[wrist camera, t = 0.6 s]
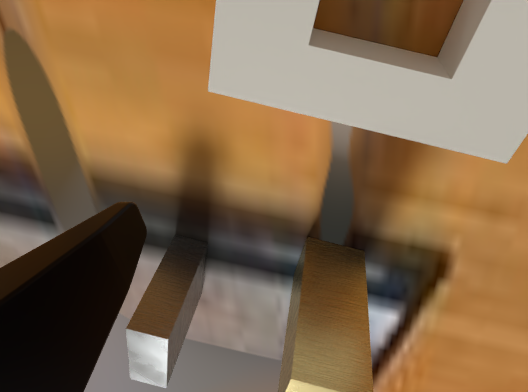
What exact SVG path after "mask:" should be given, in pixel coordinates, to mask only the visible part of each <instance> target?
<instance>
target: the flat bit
mask: <svg viewBox="0 0 528 392" xmlns="http://www.w3.org/2000/svg"><path fill="white" fill-rule="evenodd" d="M207 247H208V243H206V242H202V241H198V240H194V239H190V238H186V237H182V236H178V235H175V236H174V238H173V240H172V242H171V244H170V246H169V248H168V249H167V251H166V253H165V255H164V257H163V259H162V261H161V263H160V265H159V267H158V269H157V270H156V272H155V274H154V276H153V278H152V280H151V282H150V284H149V286H148V288H147V289H146V291H145V293H144V295H143V297H142V299H141V301H140V303H139V305H138V307H137V309H136V310H135V312H134V314H133V316H132V318H131V320H130V322H129V324H128V326H127V328H126V335H127V346H128V358H129V370H130V379H133V380H137V381H141V382H145V383H149V384H152V385H156V386H160V387H164V388H167V385H168V382H169V380H170V377H171V374H172V372H173V369H174V366H175V364H176V361H177V358H178V356H179V353H180V350H181V348H182V345H183V342H184V339H185V337H186V334H187V331H188V329H189V326H190V323H191V321H192V318H193V315H194V313H195V310H196V307H197V305H198V302H199V299H200V297H201V294H202V288H203V279H204V271H205V263H206V255H207Z"/></svg>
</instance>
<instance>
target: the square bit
mask: <svg viewBox="0 0 528 392" xmlns="http://www.w3.org/2000/svg"><path fill="white" fill-rule="evenodd" d="M278 392H373V381H372V365H371V349H370V333H369V317H368V302H367V286H366V270H365V254H364V251H362V250H358V249H354V248H350V247H346V246H342V245H338V244H334V243H330V242H326V241H322V240H318V239H314V238H310V237H307V238H306V241H305V244H304V247H303V250H302V253H301V256H300V259H299V261H298V264H297V267H296V270H295V273H294V278H293V285H292V292H291V300H290V307H289V314H288V322H287V329H286V336H285V343H284V351H283V358H282V365H281V373H280V380H279V388H278Z"/></svg>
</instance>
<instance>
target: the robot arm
mask: <svg viewBox="0 0 528 392" xmlns="http://www.w3.org/2000/svg"><path fill="white" fill-rule="evenodd" d="M146 234H147V230H146V226H145V223H144V221H143V219H142V216H141V214H140V211H139V209H138V207H137V205H136V204H135V203H133V202H118V203H116V204H114V205H112V206H110V207H109V208H107V209H105V210H103V211H101V212H100V213H98V214H96V215H94V216H92V217H91V218H89V219H87V220H85V221H84V222H82V223H80V224H78V225H77V226H75V227H73V228H71V229H69V230H67V231H66V232H64V233H62V234H60V235H58V236H57V237H55V238H53V239H51V240H50V241H48V242H46V243H44V244H42V245H41V246H39V247H37V248H35V249H33V250H32V251H30V252H28V253H26V254H25V255H23V256H21V257H19V258H17V259H16V260H14V261H12V262H10V263H8V264H7V265H5V266H3V267H1V268H0V392H84V390H85V388H86V385H87V383H88V381H89V378H90V376H91V374H92V372H93V370H94V367H95V365H96V363H97V360H98V358H99V356H100V354H101V351H102V349H103V347H104V345H105V343H106V340H107V338H108V336H109V333H110V331H111V329H112V327H113V324H114V322H115V320H116V318H117V316H118V313H119V311H120V309H121V307H122V304H123V302H124V300H125V298H126V295H127V293H128V290H129V288H130V285H131V282H132V279H133V276H134V273H135V270H136V267H137V264H138V261H139V258H140V254H141V251H142V248H143V245H144V242H145V239H146Z"/></svg>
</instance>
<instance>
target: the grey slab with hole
mask: <svg viewBox="0 0 528 392" xmlns="http://www.w3.org/2000/svg"><path fill="white" fill-rule="evenodd" d="M319 1H320V0H216V8H215V19H214V30H213V42H212V53H211V64H210V75H209V86H208V91H209V92H213V93H217V94H222V95H226V96H230V97H234V98H238V99H242V100H246V101H250V102H255V103H259V104H263V105H267V106H271V107H275V108H279V109H283V110H288V111H292V112H296V113H300V114H304V115H308V116H312V117H316V118H321V119H325V120H329V121H333V122H338V123H341V124H346V125H350V126H354V127H358V128H362V129H366V130H370V131H374V132H378V133H383V134H387V135H391V136H395V137H399V138H403V139H407V140H411V141H416V142H420V143H424V144H428V145H432V146H436V147H440V148H444V149H449V150H453V151H457V152H461V153H465V154H469V155H473V156H477V157H482V158H486V159H490V160H494V161H498V162H502V163H506V164H507V163H508V161H509V160H510V158H511V157H512V155H513V154H514V153H515V151H516V150H517V148H518V147H519V145H520V144H521V142H522V141H523V140H524V138H525V137H526V135H527V134H528V0H463V3H462V5H461V7H460V9H459V11H458V13H457V16H456V18H455V20H454V22H453V24H452V27H451V29H450V31H449V33H448V35H447V37H446V40H445V42H444V44H443V46H442V48H441V51H440V53H439V55H438V57H434V56H429V55H425V54H421V53H417V52H412V51H408V50H404V49H400V48H395V47H391V46H387V45H383V44H379V43H374V42H370V41H366V40H362V39H357V38H353V37H349V36H345V35H340V34H336V33H332V32H328V31H324V30H319V29H315V28H313V26H314V22H315V18H316V14H317V10H318V6H319Z"/></svg>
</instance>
